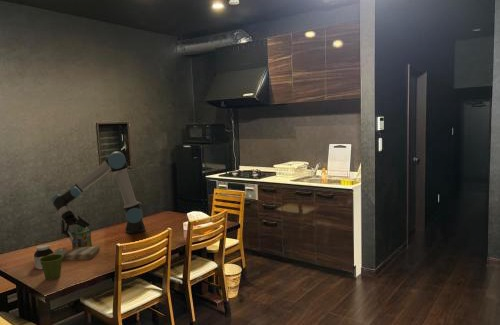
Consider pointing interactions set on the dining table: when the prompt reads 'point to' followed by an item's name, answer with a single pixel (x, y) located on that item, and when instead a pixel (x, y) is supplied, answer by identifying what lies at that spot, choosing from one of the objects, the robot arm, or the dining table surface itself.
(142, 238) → the dining table surface
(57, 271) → the plant pot
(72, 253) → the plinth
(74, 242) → the chalk box
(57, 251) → the grey rounded cylinder
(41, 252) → the spread jar
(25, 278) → the dining table surface
